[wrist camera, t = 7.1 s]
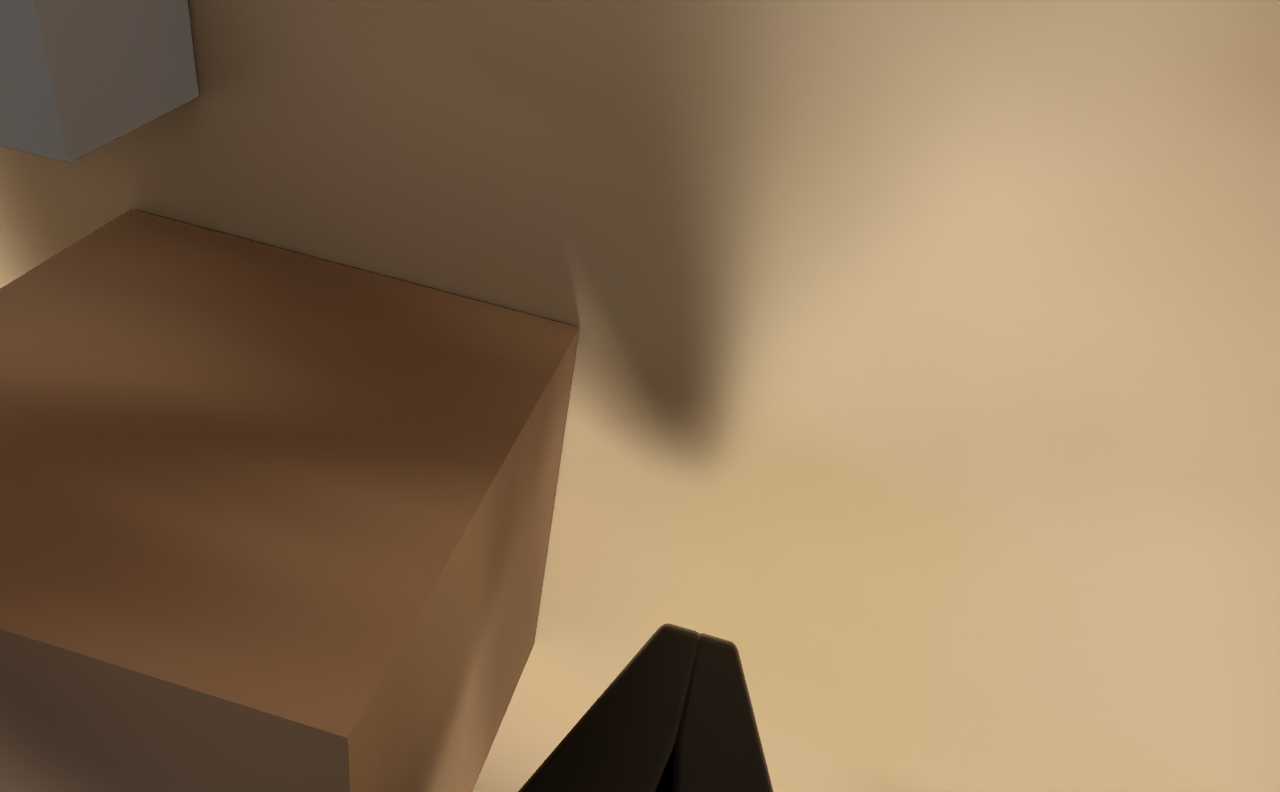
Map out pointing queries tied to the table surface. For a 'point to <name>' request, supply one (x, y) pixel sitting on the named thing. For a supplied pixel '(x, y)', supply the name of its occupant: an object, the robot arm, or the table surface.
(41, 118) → the grey bay
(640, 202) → the table surface
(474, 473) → the walnut block
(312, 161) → the table surface
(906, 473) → the table surface
